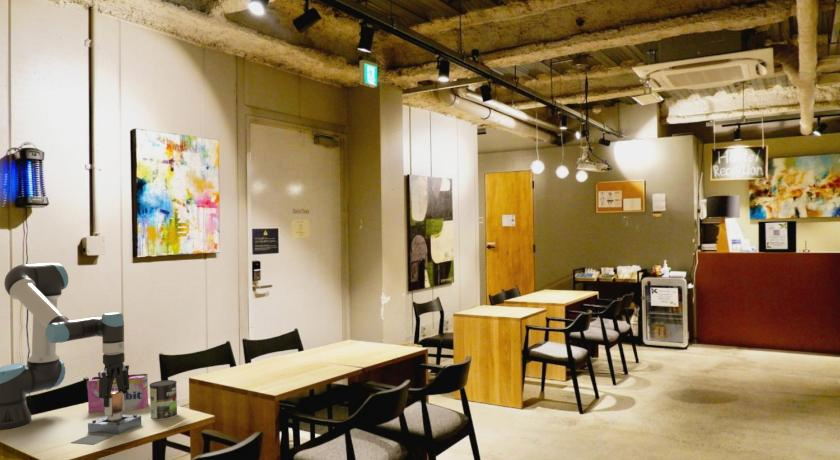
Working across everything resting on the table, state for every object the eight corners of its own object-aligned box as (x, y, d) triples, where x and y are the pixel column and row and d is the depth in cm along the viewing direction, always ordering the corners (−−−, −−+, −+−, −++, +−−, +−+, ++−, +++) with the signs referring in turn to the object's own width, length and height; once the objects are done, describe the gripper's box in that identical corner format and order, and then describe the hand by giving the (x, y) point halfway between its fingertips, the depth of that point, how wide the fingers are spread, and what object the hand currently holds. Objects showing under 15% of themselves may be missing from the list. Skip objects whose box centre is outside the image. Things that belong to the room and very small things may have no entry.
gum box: (84, 412, 261) (83, 381, 261) (91, 407, 269) (90, 376, 269) (143, 408, 264) (142, 377, 264) (148, 403, 272) (148, 373, 272)
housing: (88, 433, 232) (87, 421, 232) (111, 423, 243) (111, 412, 243) (118, 436, 228) (118, 423, 228) (141, 426, 240) (141, 414, 240)
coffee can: (182, 413, 255) (181, 380, 255) (167, 421, 245) (166, 386, 245) (160, 412, 257) (159, 379, 257) (144, 420, 247) (143, 385, 247)
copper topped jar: (103, 428, 234) (102, 394, 234) (114, 423, 240) (113, 390, 240) (115, 429, 233) (114, 395, 233) (126, 424, 238) (126, 391, 238)
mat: (70, 444, 220) (70, 442, 220) (92, 435, 230) (92, 433, 230) (93, 446, 218) (93, 444, 218) (114, 436, 227) (114, 435, 227)
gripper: (102, 358, 226) (104, 420, 226) (138, 348, 244) (140, 406, 244) (86, 357, 228) (87, 419, 228) (123, 347, 246) (124, 405, 246)
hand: (114, 412), depth 236 cm, fingers closed on copper topped jar, 6 cm apart
